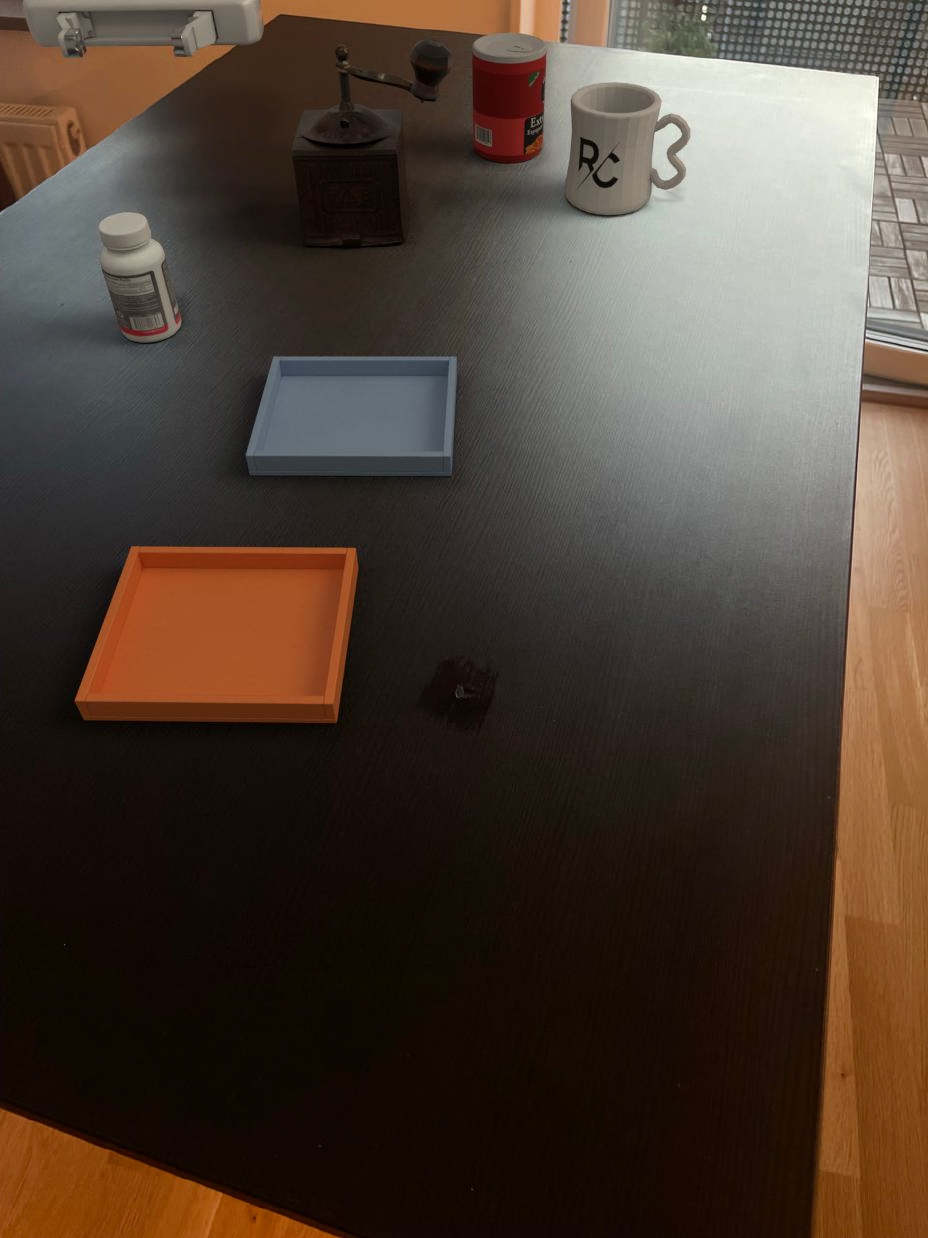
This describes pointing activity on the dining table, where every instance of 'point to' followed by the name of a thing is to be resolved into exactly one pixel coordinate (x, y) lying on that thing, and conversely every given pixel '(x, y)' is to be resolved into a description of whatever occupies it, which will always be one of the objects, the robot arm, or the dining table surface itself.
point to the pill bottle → (138, 279)
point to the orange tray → (224, 636)
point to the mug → (618, 148)
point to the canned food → (508, 96)
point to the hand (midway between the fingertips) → (124, 47)
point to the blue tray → (355, 417)
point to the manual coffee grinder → (360, 157)
